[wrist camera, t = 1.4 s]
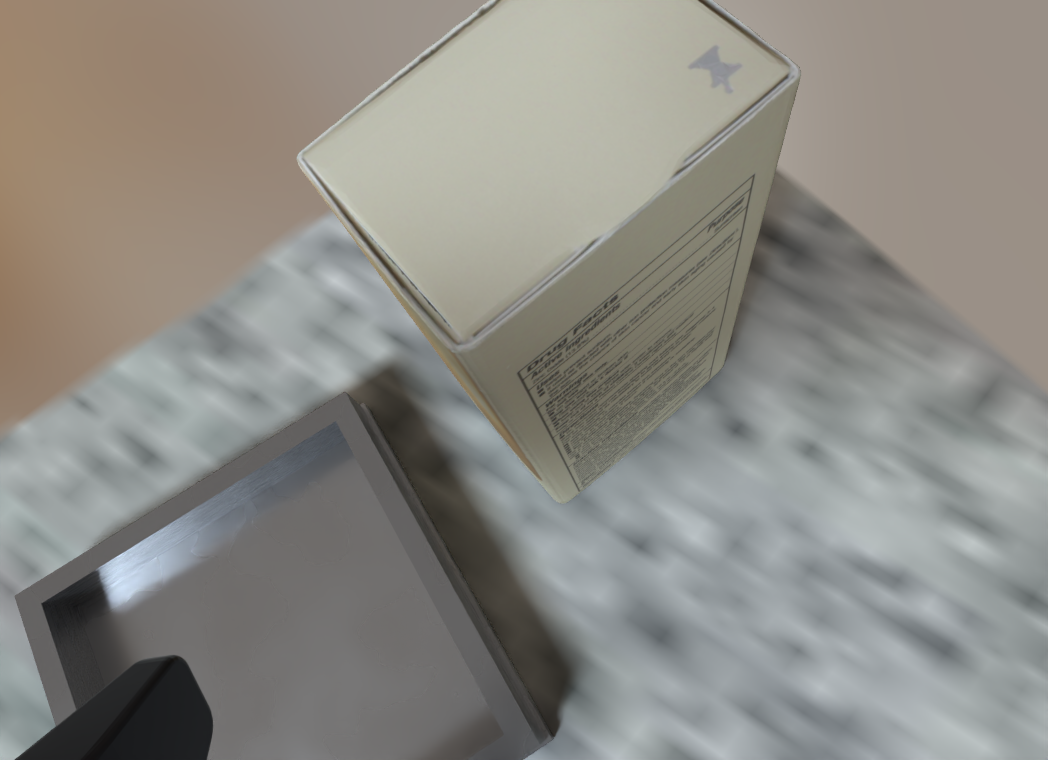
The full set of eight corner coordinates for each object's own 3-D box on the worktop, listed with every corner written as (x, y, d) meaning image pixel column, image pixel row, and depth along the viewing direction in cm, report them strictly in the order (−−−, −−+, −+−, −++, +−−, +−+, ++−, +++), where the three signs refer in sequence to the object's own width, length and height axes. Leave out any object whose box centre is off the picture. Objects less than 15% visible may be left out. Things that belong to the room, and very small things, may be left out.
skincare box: (625, 269, 23) (613, -106, 12) (728, 370, 22) (830, 53, 10) (459, 404, 22) (274, 146, 11) (554, 518, 21) (454, 355, 10)
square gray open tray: (553, 738, 19) (546, 746, 17) (188, 981, 18) (142, 1014, 17) (368, 406, 23) (346, 386, 21) (57, 599, 22) (10, 594, 20)
